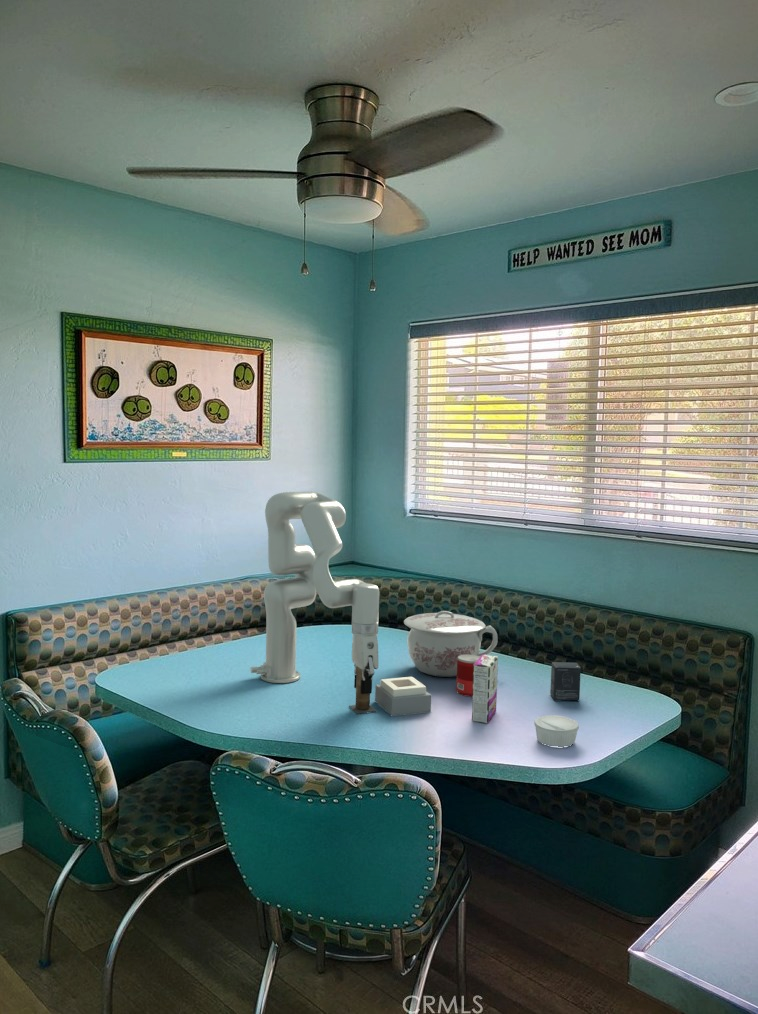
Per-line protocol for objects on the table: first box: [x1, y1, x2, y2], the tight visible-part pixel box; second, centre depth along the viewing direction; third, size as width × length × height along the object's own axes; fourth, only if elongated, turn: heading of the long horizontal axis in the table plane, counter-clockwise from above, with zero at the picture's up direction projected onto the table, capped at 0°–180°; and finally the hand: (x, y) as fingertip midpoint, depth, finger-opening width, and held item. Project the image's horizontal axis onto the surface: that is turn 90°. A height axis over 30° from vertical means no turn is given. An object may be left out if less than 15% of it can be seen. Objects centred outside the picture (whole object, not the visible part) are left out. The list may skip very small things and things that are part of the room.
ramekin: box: [534, 714, 580, 747], centre depth 204 cm, size 11×11×5 cm
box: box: [549, 661, 582, 701], centre depth 239 cm, size 8×6×11 cm
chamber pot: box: [403, 610, 499, 678], centre depth 262 cm, size 28×28×21 cm
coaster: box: [348, 704, 377, 715], centre depth 223 cm, size 6×6×1 cm
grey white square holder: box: [374, 676, 432, 717], centre depth 227 cm, size 12×13×7 cm
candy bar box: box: [471, 654, 499, 725], centre depth 220 cm, size 11×5×16 cm, turn 160°
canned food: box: [455, 654, 480, 697], centre depth 241 cm, size 8×8×11 cm
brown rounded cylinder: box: [355, 666, 371, 709], centre depth 223 cm, size 4×4×14 cm
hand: (362, 690), depth 223 cm, fingers open, 4 cm apart
